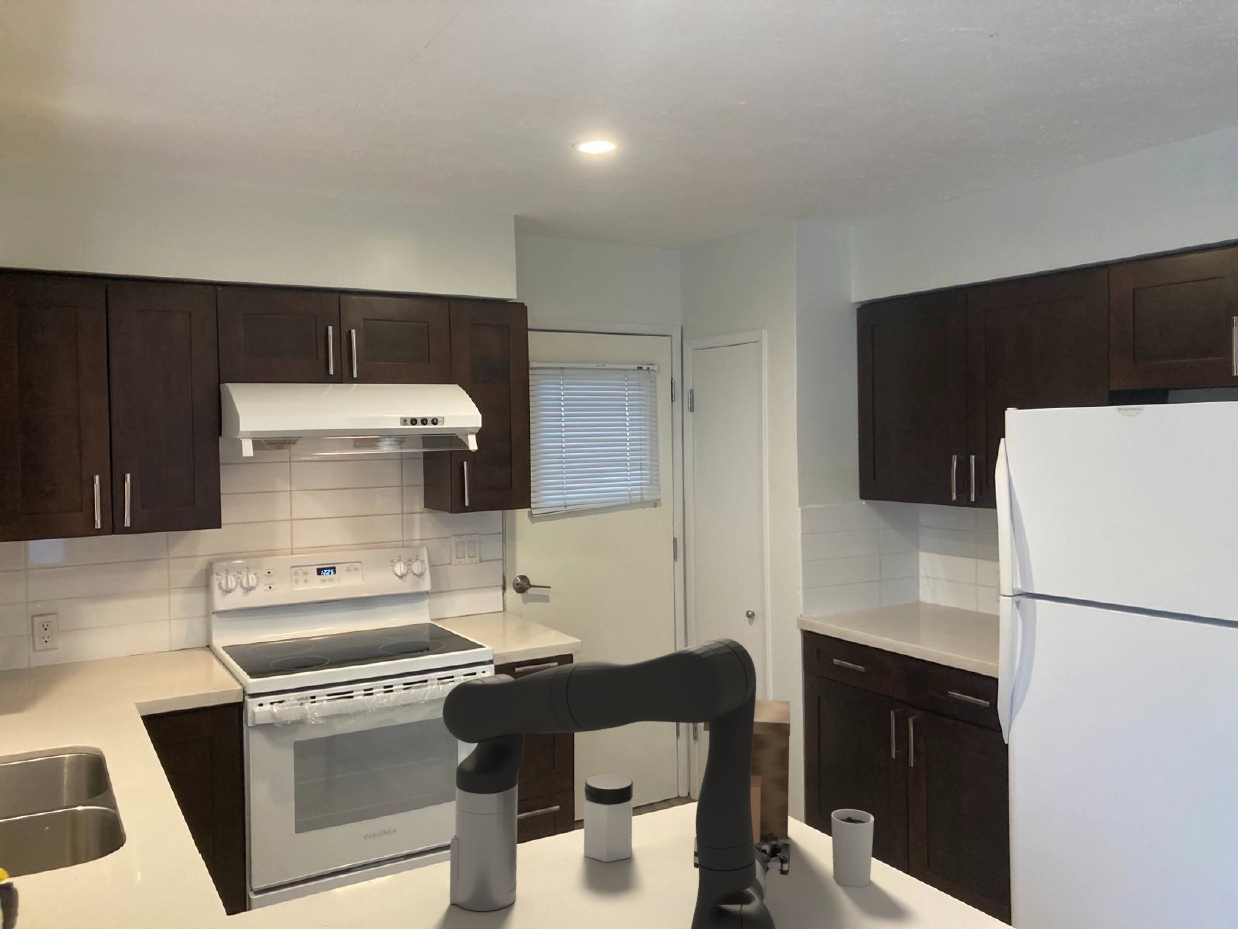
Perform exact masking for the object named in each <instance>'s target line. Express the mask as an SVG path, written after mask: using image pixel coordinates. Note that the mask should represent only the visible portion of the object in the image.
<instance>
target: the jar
mask: <svg viewBox="0 0 1238 929" xmlns="http://www.w3.org/2000/svg"><path fill="white" fill-rule="evenodd" d="M633 793H634V781H633V780H632V779H631V778H629V777H628V776H626V775H621V774H614V773H604V774H601V773H600V774H595V775H592V776H590V777H587V779H585V781H584V797H585V798H584V816H583V828H584V829H583V856H584V857H587V858H588V859H589V858H590V859H592V860H593V859H594V860H598V861H601V862H603V863H610V862H615V861H616V862H617V861H620V860H625V859H626V860H627V859H631V855H632V847H633V845H632V843H633V797H634V794H633Z"/></svg>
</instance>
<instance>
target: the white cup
mask: <svg viewBox="0 0 1238 929" xmlns="http://www.w3.org/2000/svg"><path fill="white" fill-rule="evenodd" d="M874 820H875V817H874V816H873V815H872V814H871V813H868V812H866V811H864V810H860V809H859V810H858V809H851V808H850V809H849V808H845V809H844V808H843V809H837V810H834V811H832V812H831V840H832V841H831V844H832V848H831V849H832V872H833V873H832V874H833V878H832V879H833V880H834V881H835V882H836V883H837V884H840V885H841V886H842V885H843V886H846V887H853V888H859V887H861V888H862V887H866V886H868V885H869V884H870V883H871V876H872V875H871V872H872V858H873V856H872V854H873V839H874V838H873V837H874V825H875V824H874V823H875V822H874Z"/></svg>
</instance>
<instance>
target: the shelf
mask: <svg viewBox="0 0 1238 929" xmlns="http://www.w3.org/2000/svg"><path fill="white" fill-rule="evenodd" d="M790 702H791V701H789V700H788V701H787V700H772V699H771V700H769V699H756V701H755V714H754V727H753V746H752V765H751V776H761V828H760V842H761V841H763V842H765V843H767V842H769V833H773V836H777V837H778V839H785V840H788V839H789V792H790V791H789V787H790V786H789V785H790V784H789V780H790V779H789V774H790V736H791V705H790V704H791V703H790ZM703 731H704V732H709V725H708V722H703Z"/></svg>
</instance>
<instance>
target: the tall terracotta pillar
mask: <svg viewBox="0 0 1238 929" xmlns="http://www.w3.org/2000/svg"><path fill="white" fill-rule="evenodd" d="M751 812H752V826H753V838H754V844H756V843H759V842H760V828H761V776H751Z"/></svg>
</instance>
